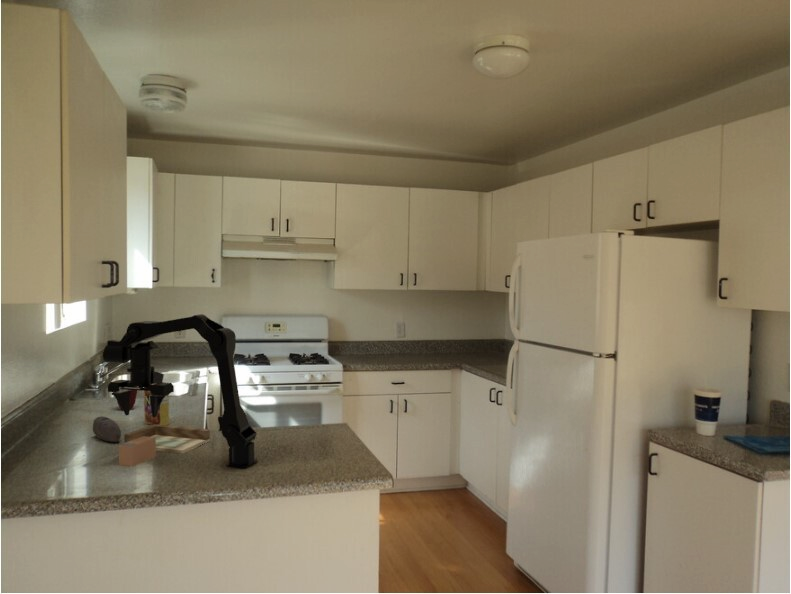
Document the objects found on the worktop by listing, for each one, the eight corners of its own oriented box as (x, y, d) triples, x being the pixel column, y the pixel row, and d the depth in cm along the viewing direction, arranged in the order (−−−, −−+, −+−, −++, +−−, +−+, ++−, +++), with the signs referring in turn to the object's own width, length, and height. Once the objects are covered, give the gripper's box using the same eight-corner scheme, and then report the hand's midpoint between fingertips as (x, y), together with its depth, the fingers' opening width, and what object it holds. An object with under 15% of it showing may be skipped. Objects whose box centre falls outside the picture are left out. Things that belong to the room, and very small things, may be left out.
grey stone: (126, 442, 195) (126, 421, 195) (110, 446, 192) (109, 424, 191) (107, 434, 206) (107, 414, 205) (91, 437, 202) (91, 417, 201)
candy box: (143, 424, 219) (142, 382, 219) (153, 421, 223) (152, 381, 223) (159, 427, 215) (159, 385, 214) (169, 424, 219) (169, 383, 218)
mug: (107, 409, 242) (107, 385, 242) (125, 405, 249) (124, 382, 249) (124, 412, 237) (123, 387, 237) (141, 408, 244) (141, 384, 244)
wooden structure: (209, 441, 197) (209, 429, 197) (182, 453, 184) (182, 440, 184) (154, 435, 204) (154, 424, 204) (124, 447, 190) (124, 434, 190)
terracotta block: (155, 457, 181) (155, 436, 180) (131, 467, 171) (131, 445, 171) (143, 455, 182) (143, 435, 182) (119, 465, 173) (118, 444, 172)
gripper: (184, 361, 182) (184, 412, 183) (131, 358, 187) (131, 408, 187) (162, 367, 171) (162, 420, 172) (106, 363, 176) (106, 416, 176)
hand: (140, 416), depth 177 cm, fingers open, 9 cm apart
